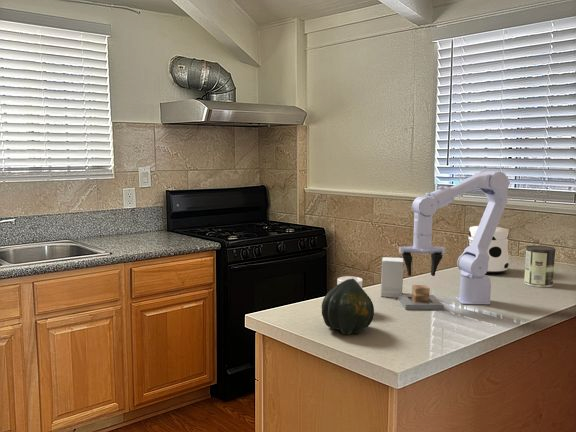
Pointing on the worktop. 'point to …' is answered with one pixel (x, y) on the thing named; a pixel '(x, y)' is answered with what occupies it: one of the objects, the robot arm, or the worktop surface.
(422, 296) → the brown block
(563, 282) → the worktop surface
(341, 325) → the squash
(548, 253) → the coffee can
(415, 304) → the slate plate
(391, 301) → the worktop surface
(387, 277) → the supplement box
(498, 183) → the robot arm
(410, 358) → the worktop surface
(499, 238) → the milk container
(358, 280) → the white cup
